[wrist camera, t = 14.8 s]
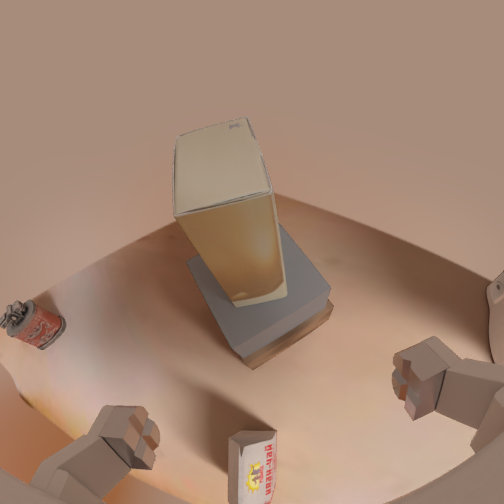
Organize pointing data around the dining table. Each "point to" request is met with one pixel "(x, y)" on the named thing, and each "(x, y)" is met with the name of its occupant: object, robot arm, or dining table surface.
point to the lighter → (32, 324)
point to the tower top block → (267, 313)
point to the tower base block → (288, 338)
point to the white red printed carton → (252, 467)
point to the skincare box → (230, 210)
